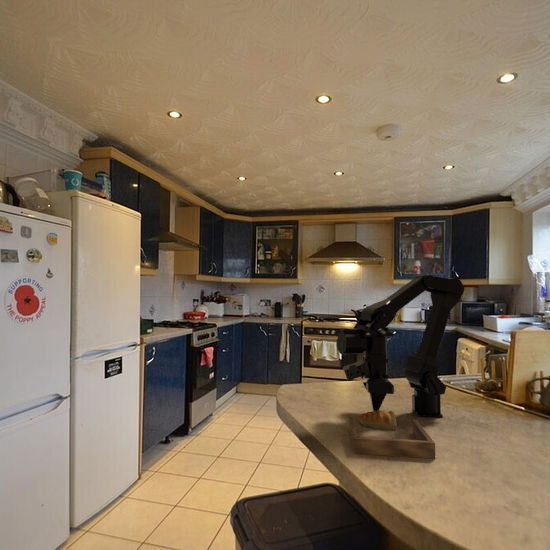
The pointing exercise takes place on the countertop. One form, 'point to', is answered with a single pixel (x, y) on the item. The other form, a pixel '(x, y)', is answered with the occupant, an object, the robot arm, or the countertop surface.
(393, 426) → the pastry
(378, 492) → the countertop surface
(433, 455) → the box
